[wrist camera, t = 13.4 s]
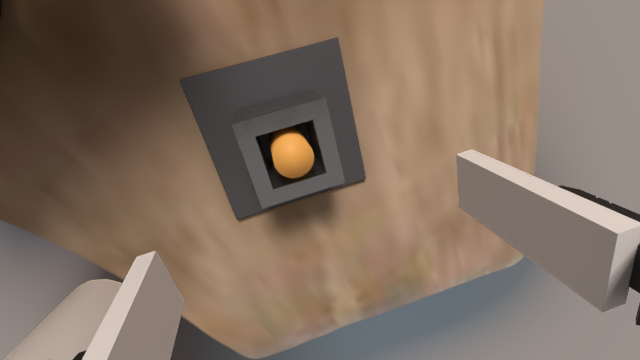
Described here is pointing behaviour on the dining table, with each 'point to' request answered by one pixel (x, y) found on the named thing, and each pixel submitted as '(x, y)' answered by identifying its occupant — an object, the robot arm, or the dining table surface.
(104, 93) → the dining table surface
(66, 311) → the foam cup
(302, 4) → the dining table surface
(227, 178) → the mat
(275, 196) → the socket
